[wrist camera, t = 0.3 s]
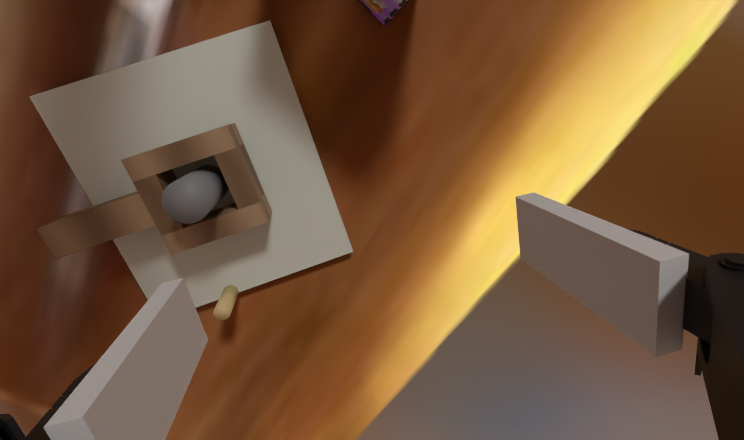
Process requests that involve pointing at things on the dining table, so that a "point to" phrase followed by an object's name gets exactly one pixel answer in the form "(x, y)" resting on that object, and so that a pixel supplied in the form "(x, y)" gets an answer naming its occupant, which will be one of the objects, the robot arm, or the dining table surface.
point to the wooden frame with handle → (146, 204)
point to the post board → (204, 160)
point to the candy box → (383, 8)
